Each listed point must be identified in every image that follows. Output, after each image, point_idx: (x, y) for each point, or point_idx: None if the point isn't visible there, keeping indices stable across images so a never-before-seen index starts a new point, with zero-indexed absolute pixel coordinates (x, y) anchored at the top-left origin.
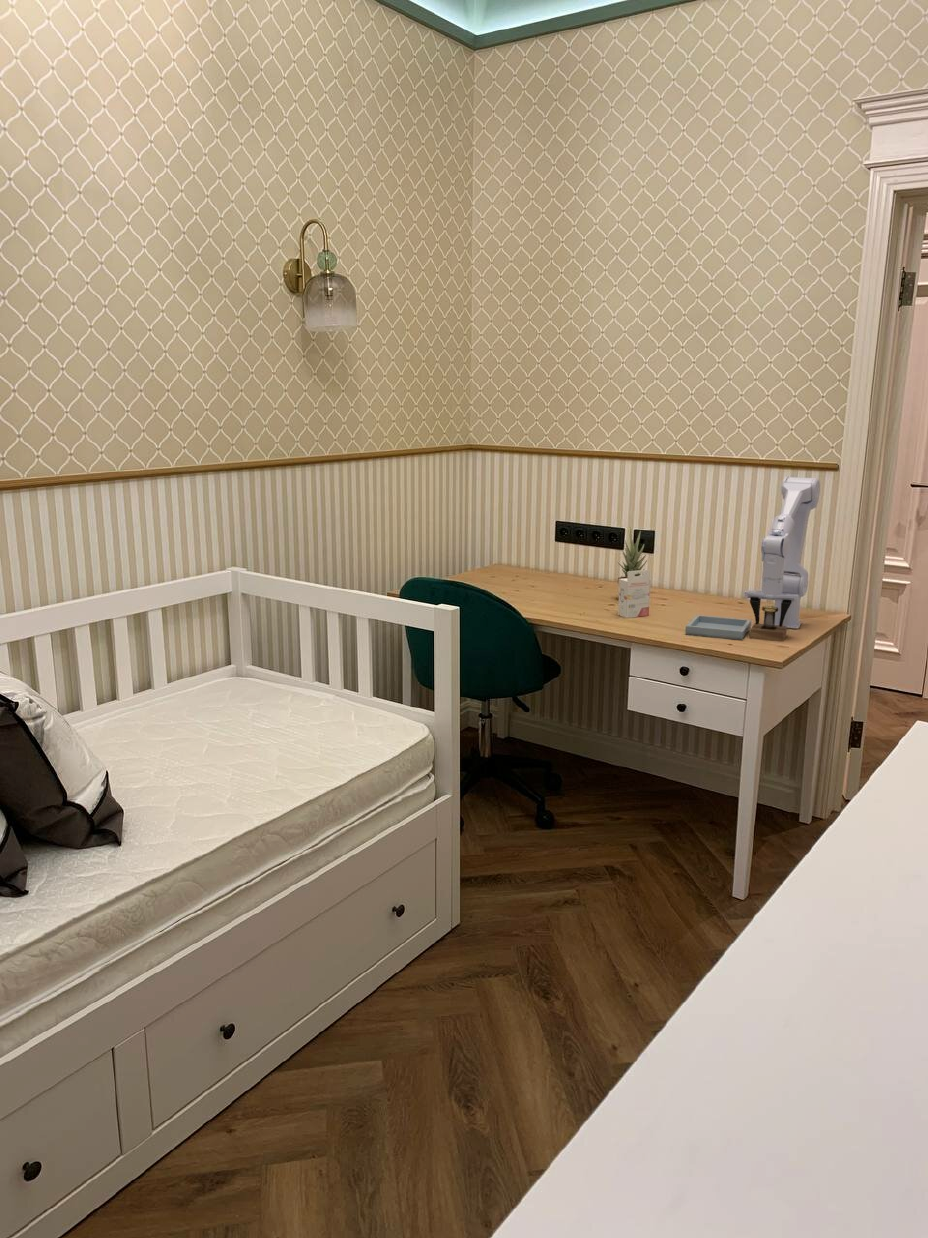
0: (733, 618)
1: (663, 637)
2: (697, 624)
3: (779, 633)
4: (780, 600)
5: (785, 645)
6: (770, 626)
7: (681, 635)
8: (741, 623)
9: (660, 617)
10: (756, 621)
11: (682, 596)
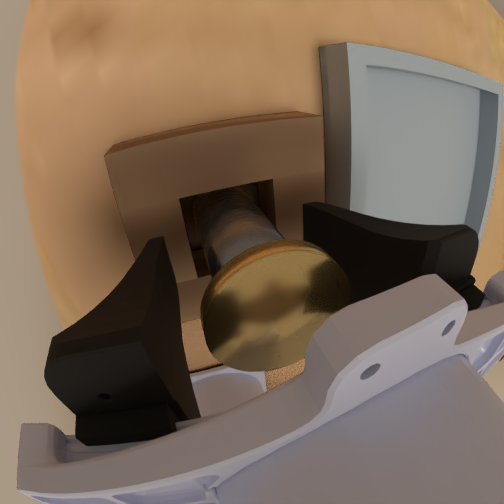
0: None
1: (498, 33)
2: (466, 207)
3: (130, 146)
4: (205, 416)
5: (74, 68)
6: (218, 210)
7: (482, 66)
8: None
9: (498, 244)
10: (321, 204)
11: None
